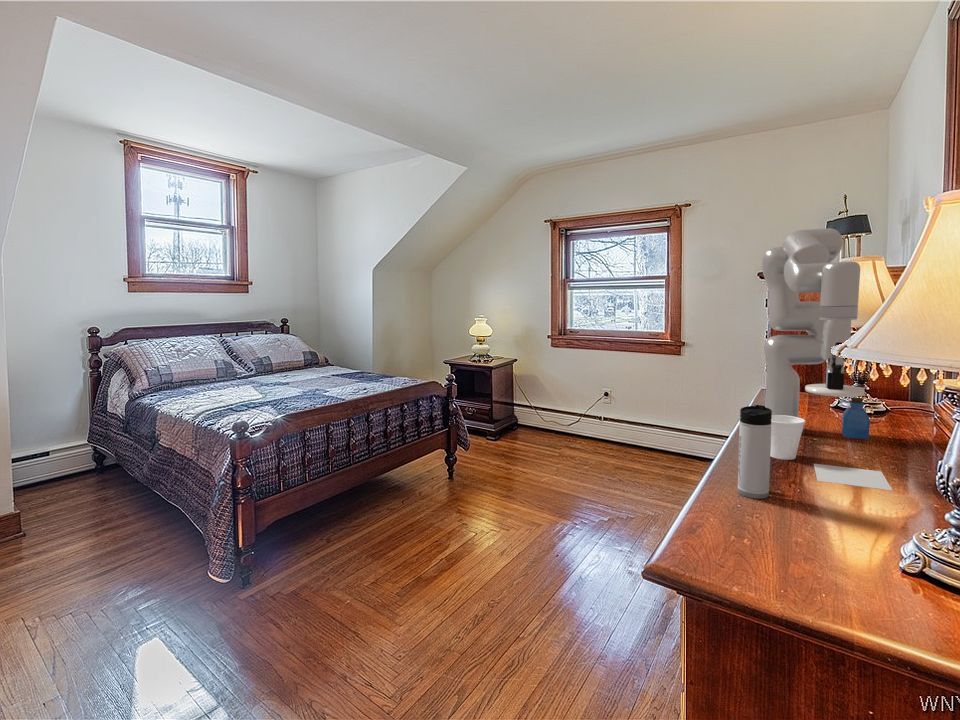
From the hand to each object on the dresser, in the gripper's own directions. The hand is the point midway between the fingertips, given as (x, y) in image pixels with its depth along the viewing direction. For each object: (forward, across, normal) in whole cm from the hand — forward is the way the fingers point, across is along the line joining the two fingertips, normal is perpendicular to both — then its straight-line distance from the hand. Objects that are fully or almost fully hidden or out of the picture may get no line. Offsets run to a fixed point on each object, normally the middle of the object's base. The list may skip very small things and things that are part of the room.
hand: (834, 386), depth 123 cm
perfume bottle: (+22, -41, +10) cm, 48 cm away
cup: (+22, -8, -10) cm, 25 cm away
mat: (+22, +4, +4) cm, 22 cm away
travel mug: (+22, +24, -16) cm, 36 cm away
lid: (+1, 0, 0) cm, 1 cm away
